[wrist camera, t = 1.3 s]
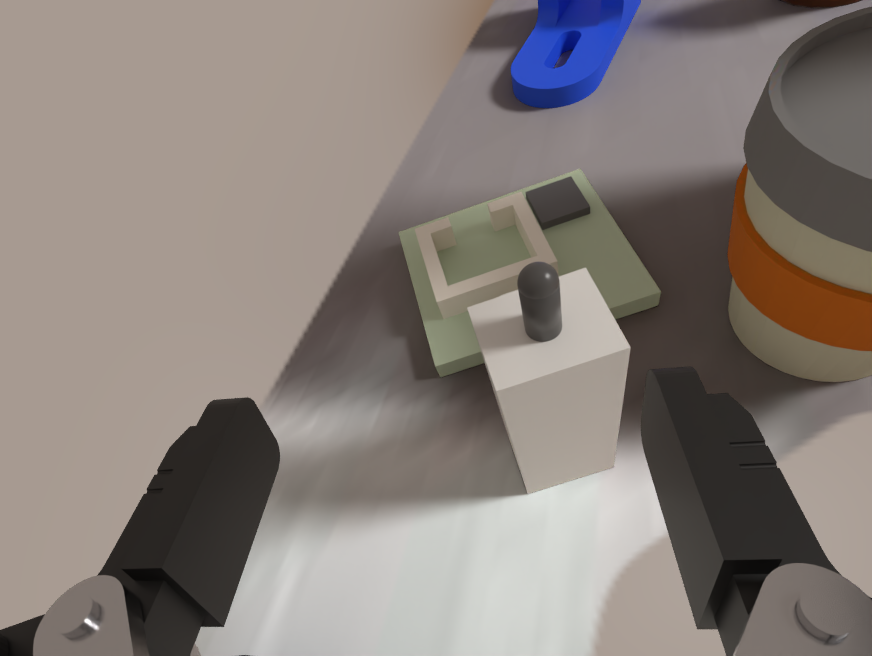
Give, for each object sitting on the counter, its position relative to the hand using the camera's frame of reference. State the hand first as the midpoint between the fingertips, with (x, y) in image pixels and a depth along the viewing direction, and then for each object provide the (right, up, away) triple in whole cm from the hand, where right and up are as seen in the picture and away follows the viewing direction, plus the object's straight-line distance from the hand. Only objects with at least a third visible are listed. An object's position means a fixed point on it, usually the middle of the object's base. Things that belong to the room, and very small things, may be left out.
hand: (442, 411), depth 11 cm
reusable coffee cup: (+22, +2, +20) cm, 30 cm away
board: (+6, +6, +27) cm, 28 cm away
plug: (+7, -5, +19) cm, 21 cm away
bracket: (+14, +29, +41) cm, 52 cm away
